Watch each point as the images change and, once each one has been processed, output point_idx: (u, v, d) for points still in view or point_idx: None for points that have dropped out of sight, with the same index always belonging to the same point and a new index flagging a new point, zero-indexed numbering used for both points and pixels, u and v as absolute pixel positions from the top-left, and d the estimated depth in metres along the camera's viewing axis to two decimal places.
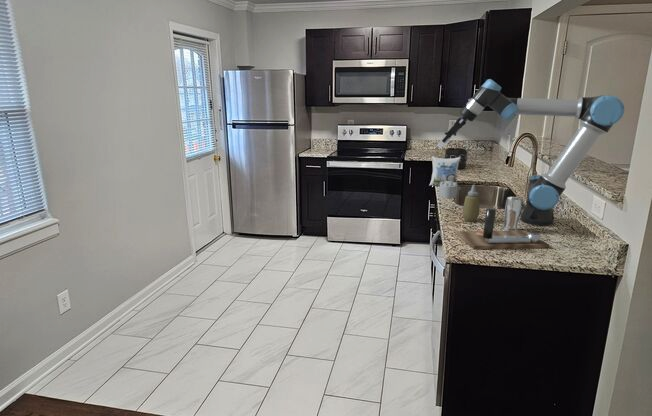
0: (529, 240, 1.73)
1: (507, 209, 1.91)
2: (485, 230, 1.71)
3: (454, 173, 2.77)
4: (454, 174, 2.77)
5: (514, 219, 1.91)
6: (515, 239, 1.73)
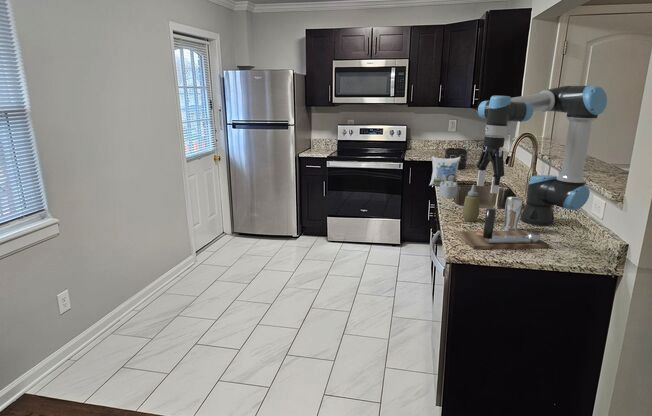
0: (529, 240, 1.73)
1: (507, 209, 1.91)
2: (485, 230, 1.71)
3: (454, 173, 2.77)
4: (454, 174, 2.77)
5: (514, 219, 1.91)
6: (515, 239, 1.73)
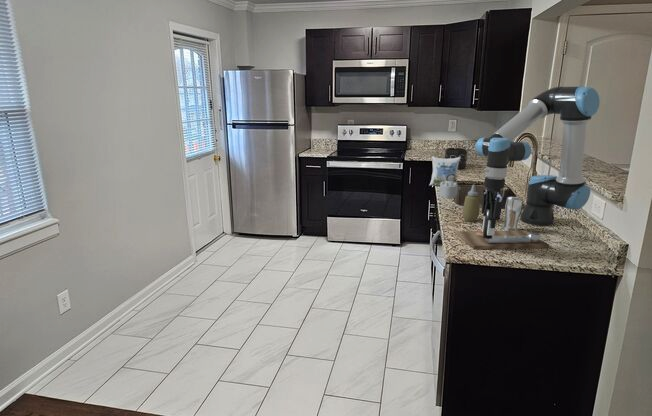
0: (529, 240, 1.73)
1: (507, 209, 1.91)
2: (485, 230, 1.71)
3: (454, 173, 2.77)
4: (454, 174, 2.77)
5: (514, 219, 1.91)
6: (515, 239, 1.73)
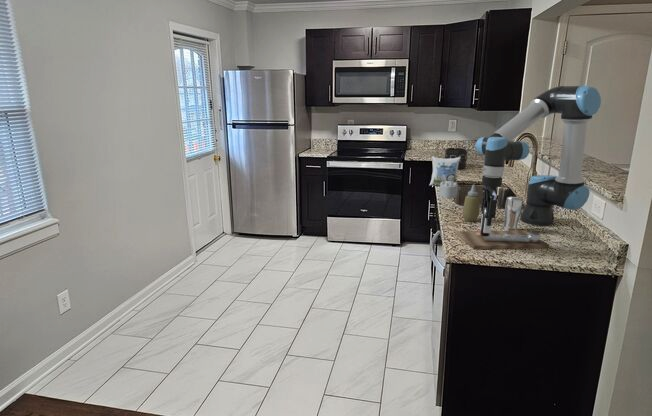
0: (528, 240, 1.74)
1: (507, 209, 1.91)
2: (482, 228, 1.74)
3: (454, 173, 2.77)
4: (454, 174, 2.77)
5: (514, 219, 1.91)
6: (513, 238, 1.74)
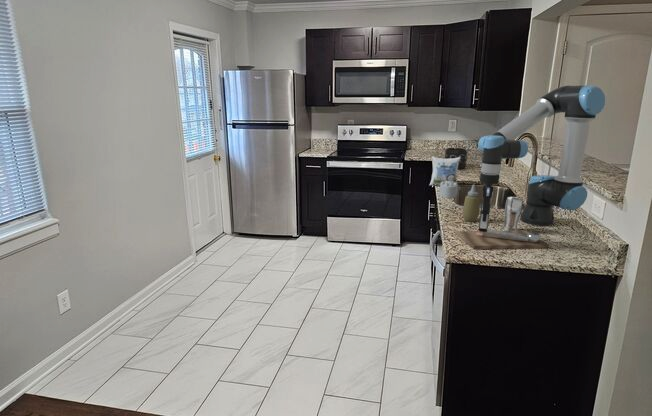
0: (527, 239, 1.75)
1: (507, 209, 1.91)
2: (479, 223, 1.80)
3: (454, 173, 2.77)
4: (454, 174, 2.77)
5: (514, 219, 1.91)
6: (511, 236, 1.76)
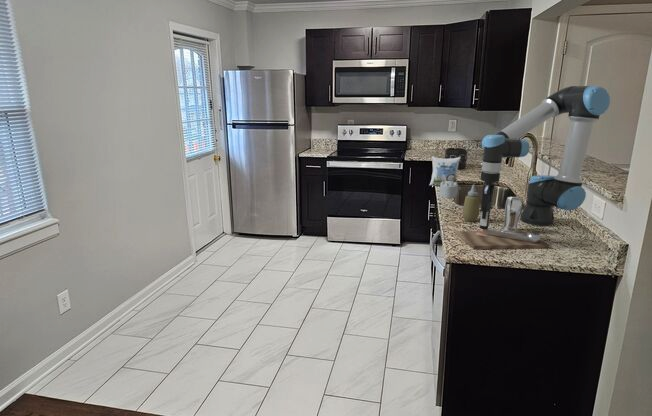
0: (526, 239, 1.75)
1: (507, 209, 1.91)
2: None
3: (454, 173, 2.77)
4: (454, 174, 2.77)
5: (514, 219, 1.91)
6: (510, 235, 1.78)
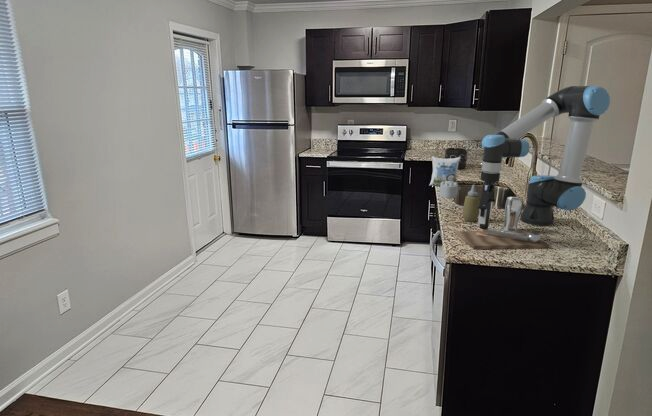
0: (526, 239, 1.75)
1: (507, 209, 1.91)
2: None
3: (454, 173, 2.77)
4: (454, 174, 2.77)
5: (514, 219, 1.91)
6: (510, 235, 1.78)
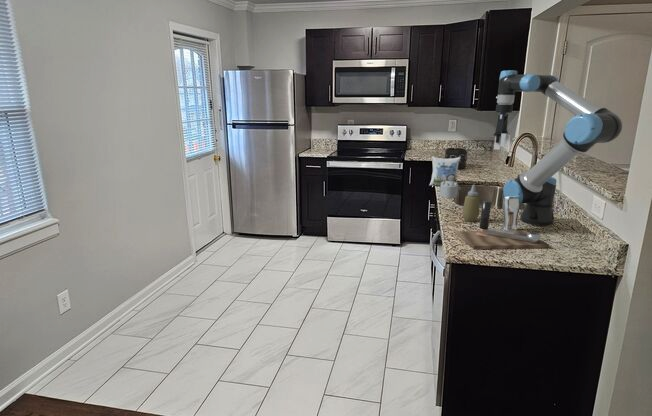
0: (526, 239, 1.75)
1: (505, 209, 1.92)
2: (480, 220, 1.84)
3: (454, 173, 2.77)
4: (454, 174, 2.77)
5: (513, 218, 1.91)
6: (510, 235, 1.78)
